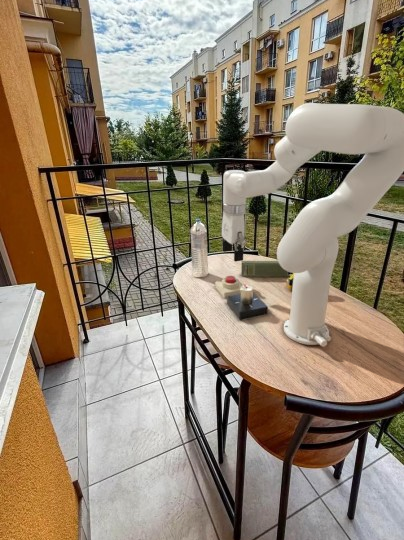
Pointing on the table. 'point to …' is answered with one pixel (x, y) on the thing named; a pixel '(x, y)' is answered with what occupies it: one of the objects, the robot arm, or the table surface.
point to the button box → (228, 287)
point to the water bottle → (199, 249)
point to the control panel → (247, 307)
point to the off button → (230, 279)
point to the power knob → (246, 294)
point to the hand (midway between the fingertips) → (232, 255)
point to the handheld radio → (263, 269)
